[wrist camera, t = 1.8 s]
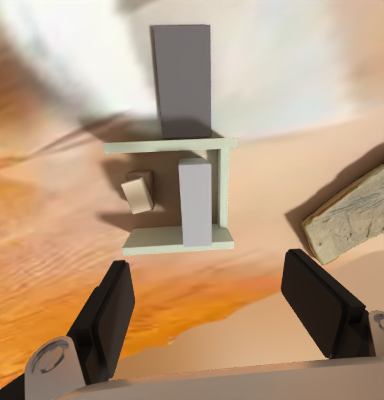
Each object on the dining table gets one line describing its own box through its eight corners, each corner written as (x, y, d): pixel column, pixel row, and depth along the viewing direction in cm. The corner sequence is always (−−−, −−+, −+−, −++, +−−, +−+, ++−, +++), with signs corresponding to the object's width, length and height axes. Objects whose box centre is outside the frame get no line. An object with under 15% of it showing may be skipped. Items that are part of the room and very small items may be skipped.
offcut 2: (131, 171, 28) (125, 174, 25) (152, 170, 28) (148, 173, 25) (136, 204, 29) (131, 211, 27) (155, 203, 30) (152, 210, 27)
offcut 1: (125, 181, 25) (121, 184, 23) (143, 176, 25) (139, 179, 23) (136, 209, 27) (133, 214, 25) (153, 204, 26) (151, 209, 25)
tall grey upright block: (179, 158, 27) (178, 165, 19) (202, 157, 27) (211, 163, 19) (183, 217, 30) (183, 247, 22) (203, 216, 31) (211, 245, 22)
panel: (154, 28, 22) (153, 25, 22) (209, 27, 22) (210, 25, 22) (163, 138, 26) (162, 138, 26) (210, 136, 26) (210, 136, 26)
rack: (120, 143, 26) (102, 143, 20) (226, 138, 27) (237, 137, 21) (134, 234, 31) (123, 255, 25) (224, 229, 31) (233, 248, 26)
